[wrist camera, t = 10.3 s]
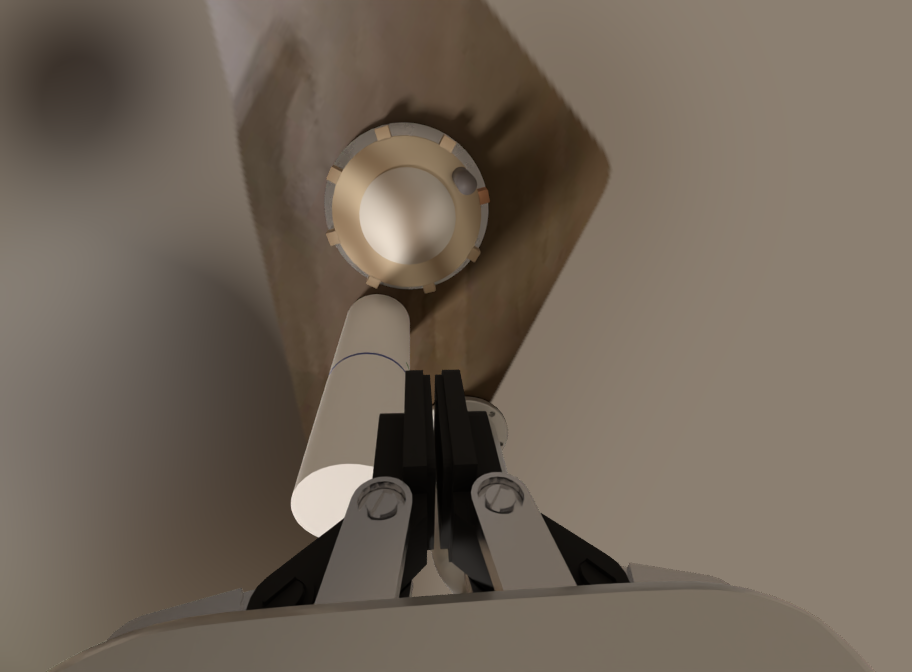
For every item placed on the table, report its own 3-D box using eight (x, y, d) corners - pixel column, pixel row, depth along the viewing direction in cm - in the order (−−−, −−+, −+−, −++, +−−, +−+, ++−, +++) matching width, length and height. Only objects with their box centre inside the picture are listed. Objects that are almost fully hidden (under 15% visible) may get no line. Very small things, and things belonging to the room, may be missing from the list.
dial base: (500, 263, 45) (502, 266, 44) (360, 302, 46) (359, 306, 45) (466, 100, 38) (467, 100, 37) (298, 149, 38) (295, 150, 37)
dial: (398, 312, 45) (397, 341, 40) (294, 199, 39) (274, 214, 33) (512, 228, 42) (528, 246, 37) (420, 89, 36) (422, 85, 30)
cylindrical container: (386, 282, 45) (363, 445, 23) (421, 330, 48) (431, 513, 27) (333, 314, 46) (264, 498, 24) (371, 359, 50) (341, 557, 28)
